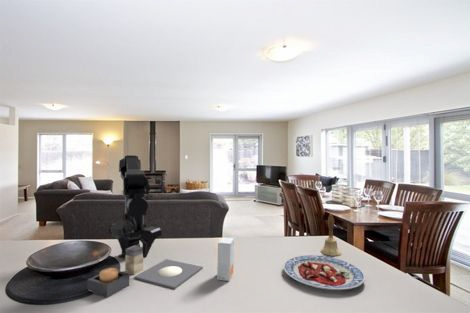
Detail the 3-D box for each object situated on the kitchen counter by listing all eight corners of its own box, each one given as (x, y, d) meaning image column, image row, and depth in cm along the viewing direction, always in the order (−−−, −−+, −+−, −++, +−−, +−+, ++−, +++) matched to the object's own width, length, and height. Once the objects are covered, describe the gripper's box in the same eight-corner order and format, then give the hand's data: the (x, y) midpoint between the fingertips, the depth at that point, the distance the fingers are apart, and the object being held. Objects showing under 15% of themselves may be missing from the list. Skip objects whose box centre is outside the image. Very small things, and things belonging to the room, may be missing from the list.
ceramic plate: (276, 286, 82) (276, 276, 82) (290, 256, 106) (290, 249, 106) (368, 304, 72) (368, 293, 72) (361, 267, 96) (361, 259, 96)
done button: (95, 281, 77) (95, 273, 77) (110, 274, 82) (110, 266, 82) (107, 285, 75) (107, 276, 75) (121, 278, 80) (121, 269, 80)
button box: (87, 291, 77) (87, 279, 77) (110, 279, 84) (110, 268, 84) (107, 297, 73) (107, 285, 73) (129, 285, 81) (129, 273, 81)
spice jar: (125, 272, 89) (125, 248, 89) (134, 268, 93) (134, 245, 93) (134, 274, 88) (134, 250, 88) (143, 270, 91) (143, 247, 91)
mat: (134, 278, 85) (134, 276, 85) (166, 260, 100) (166, 258, 100) (174, 289, 79) (174, 286, 79) (202, 268, 93) (202, 266, 93)
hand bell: (316, 251, 111) (317, 214, 111) (327, 247, 116) (327, 211, 116) (335, 257, 105) (335, 217, 105) (345, 253, 110) (345, 214, 110)
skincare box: (229, 281, 84) (230, 243, 84) (216, 280, 85) (217, 242, 85) (233, 273, 90) (234, 238, 90) (221, 271, 91) (222, 237, 91)
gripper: (95, 211, 87) (94, 258, 87) (138, 217, 79) (137, 269, 79) (122, 205, 97) (121, 248, 97) (162, 211, 89) (162, 256, 89)
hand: (134, 255), depth 91 cm, fingers open, 9 cm apart
